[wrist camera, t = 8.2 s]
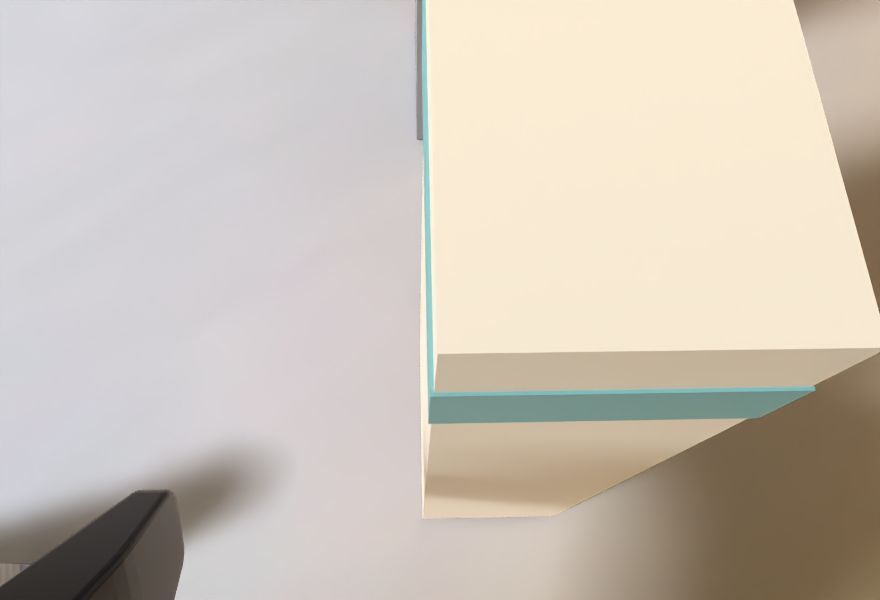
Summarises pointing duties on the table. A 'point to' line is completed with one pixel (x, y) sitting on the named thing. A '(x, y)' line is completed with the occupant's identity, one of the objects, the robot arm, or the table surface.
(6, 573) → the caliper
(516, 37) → the cream long block
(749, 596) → the table surface
